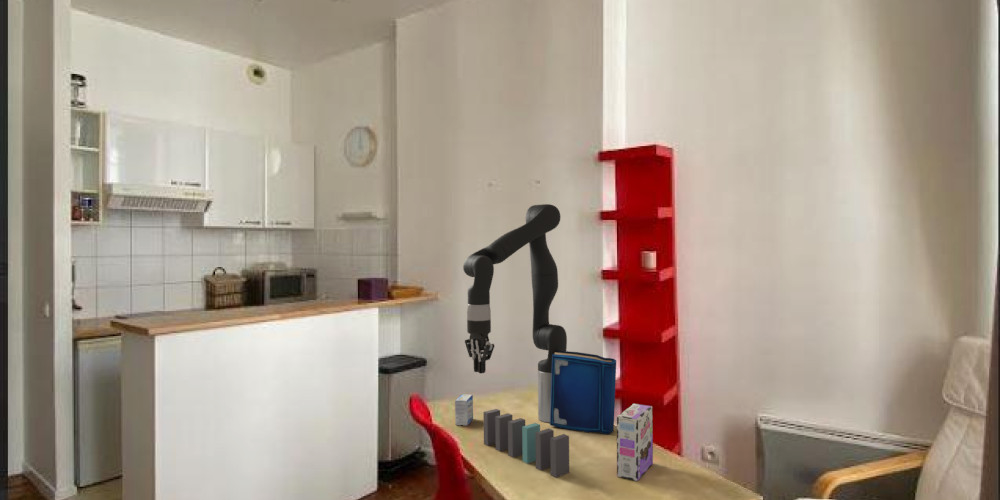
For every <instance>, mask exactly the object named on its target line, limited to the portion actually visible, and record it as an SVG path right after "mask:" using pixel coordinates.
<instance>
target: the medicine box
mask: <svg viewBox="0 0 1000 500" xmlns="http://www.w3.org/2000/svg"><path fill="white" fill-rule="evenodd" d="M454 415H455V418H454V420H455V425H456V426H461V425H463V426H465V427H466V426H469V425H470V423H471V422H472V421H473V419H474V396H473V394H461V395H460V396H458V397H457V398H456V400H455V401H454Z"/></svg>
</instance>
